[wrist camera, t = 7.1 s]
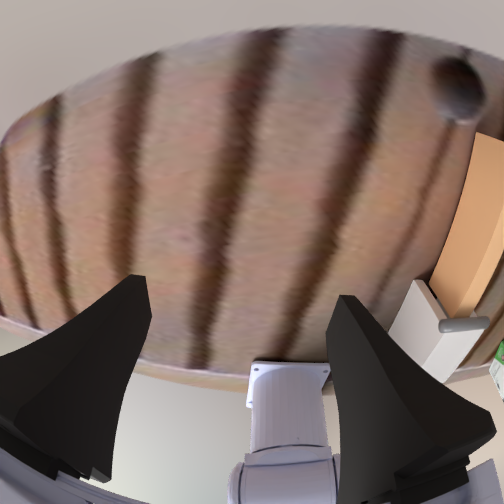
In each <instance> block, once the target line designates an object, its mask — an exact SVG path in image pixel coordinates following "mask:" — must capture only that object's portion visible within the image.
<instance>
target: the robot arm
mask: <svg viewBox="0 0 504 504" xmlns="http://www.w3.org/2000/svg"><path fill="white" fill-rule="evenodd" d="M151 318H152V313H151V308H150V302H149V296H148V290H147V284H146V277H145V276H140V275H133V274H131V275H129V276H128V277H126V278H125V279H124V280H122V281H121V282H120V283H119V284H117V285H116V286H115V287H114V288H112V289H111V290H110V291H109V292H107V293H106V294H105V295H103V296H102V297H101V298H100V299H98V300H97V301H96V302H95V303H93V304H92V305H91V306H89V307H88V308H87V309H85V310H84V311H82V312H81V313H80V314H78V315H77V316H76V317H74V318H73V319H72V320H70V321H69V322H67V323H66V324H64V325H63V326H61V327H59V328H58V329H56V330H55V331H53V332H51V333H50V334H48V335H46V336H44V337H42V338H40V339H38V340H36V341H35V342H33V343H31V344H29V345H27V346H25V347H22V348H20V349H18V350H16V351H14V352H11V353H8V354H6V355H3V356H0V504H93V503H94V504H149V503H145V502H141V501H138V500H134V499H131V498H128V497H124V496H121V495H118V494H115V493H112V492H109V491H106V490H104V489H101V488H98V487H96V486H93V485H90V484H88V483H86V482H83V481H81V480H79V479H80V477H82V478H84V479H87V480H89V479H90V478H91V479H94V480H96V481H99V482H102V483H106V482H108V481H110V480H111V477H112V461H113V450H114V443H115V436H116V430H117V424H118V419H119V414H120V410H121V405H122V401H123V397H124V393H125V390H126V387H127V384H128V381H129V379H130V377H131V374H132V372H133V369H134V367H135V364H136V362H137V359H138V357H139V354H140V352H141V349H142V347H143V345H144V342H145V340H146V336H147V333H148V329H149V326H150V322H151ZM326 344H327V355H328V360H329V363H291V362H268V361H254V362H252V365H251V372H250V380H249V387H248V394H247V402H246V406H247V407H249V408H252V421H251V444H250V454H249V453H248V454H245V462H239V463H238V464H237V465H236V466H235V467H234V468H233V469H232V471H231V473H230V476H229V481H228V489H227V497H228V504H504V503H503V498H502V493H501V488H500V484H499V480H498V476H497V472H496V468H495V464H494V461H493V459H489V460H488V461H486V462H484V463H482V464H480V465H478V466H476V467H474V468H472V469H471V470H469V471H467V470H466V465H468V464H469V463H470V460H469V455H470V454H472V453H473V452H474V451H476V450H477V449H479V448H480V447H481V446H483V445H484V444H485V443H487V442H488V441H489V440H491V439H492V438H493V437H494V436H495V434H496V432H497V430H496V428H495V425H494V422H493V419H492V416H491V414H490V412H489V411H487V410H485V409H483V408H481V407H479V406H477V405H475V404H473V403H471V402H469V401H468V400H466V399H464V398H463V397H461V396H459V395H458V394H456V393H455V392H453V391H452V390H450V389H449V388H447V387H446V386H444V385H443V384H442V383H440V382H439V381H438V380H436V379H435V378H434V377H432V376H431V375H430V374H429V373H428V372H426V371H425V370H424V369H423V368H422V367H421V366H420V365H418V364H417V363H416V362H415V361H414V360H413V359H412V358H411V357H410V356H409V355H408V354H407V353H406V352H405V351H404V350H403V349H402V348H401V347H400V346H399V345H398V344H397V343H396V342H395V341H394V340H393V339H392V338H391V337H390V336H389V334H388V333H387V332H386V331H385V330H384V329H383V328H382V327H381V325H380V324H379V323H378V322H377V321H376V320H375V318H374V317H373V316H372V315H371V314H370V313H369V311H368V310H367V309H366V308H365V307H364V306H363V305H362V303H361V302H360V301H359V300H358V299H357V298H356V297H355V296H352V295H339V298H338V301H337V303H336V306H335V309H334V312H333V315H332V317H331V320H330V323H329V325H328V328H327V331H326ZM330 371H331V375H332V380H333V384H334V389H335V394H336V399H337V404H338V410H339V424H340V452H341V453H340V454H334V455H332V452H331V447H330V446H328V438H327V429H326V421H325V413H324V405H323V398H322V390H321V389H322V387H323V385H324V383H325V381H326V379H327V377H328V375H329V373H330ZM91 502H92V503H91Z"/></svg>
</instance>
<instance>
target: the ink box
mask: <svg viewBox="0 0 504 504" xmlns="http://www.w3.org/2000/svg"><path fill="white" fill-rule="evenodd" d="M489 372H490V374H491V376H492V378H493V380H494V382H495V384H496V386H497V389H498V391H499V393H500V395H501V398H502V400H503V402H504V340H503V341H502V342H501V343H500V346H499V348H498V351H497V353H496V355H495V358H494V360H493V362H492V364H491V367H490V369H489Z"/></svg>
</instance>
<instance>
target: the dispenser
mask: <svg viewBox="0 0 504 504" xmlns="http://www.w3.org/2000/svg"><path fill="white" fill-rule="evenodd" d="M489 324H490V320H489V318H488V317H487V316H483V317H478V316H477V315H476V313H475V312H474V310H473V312H472V313H471V315H470V317H469V318H450V316H449V315H448V313H447V312H446V310H445V308H444V307H443V305H442V304H441V302H440V301H439V299H438V297H437V299H436V300H435V298H434V297H433V295H432V293H431V292H430V290H429V289H428V287H427V286H426V284H425V283H424V281H423V280H413V282H412V284H411V286H410V289H409V291H408V293H407V295H406V297H405V300H404V302H403V304H402V306H401V308H400V310H399V312H398V314H397V316H396V318H395V320H394V322H393V324H392V326H391V328H390V330H389V332H388V334H389V336H390V337H391V338H392V339H393V340H394V341H395V342H396V343H397V344H398V345H399V346H400V347H401V348H402V349H403V350H404V351H405V352H406V353H407V354H408V355H409V356H410V357H411V358H412V359H413V360H414V361H415V362H416V363H417V364H418V365H420V366H421V367H422V368H423V369H424V370H425V371H426V372H428V373H429V374H430V375H431V376H432V377H434V378H435V379H436V380H438V381H439V382H440V383H444V382H445V381H446V380H447V379H448V378H449V376H450V375H451V374H452V373H453V372H454V370H455V369H456V368H457V367H458V365H459V364H460V363H461V361H462V360H463V359H464V358H465V356H466V355H467V354H468V352H469V351H470V349H471V348H472V347H473V345H474V344H475V342H476V341H477V340H478V338H479V337H480V335H481V334H482V332H483V331H484V329H487V328H488V327H489Z"/></svg>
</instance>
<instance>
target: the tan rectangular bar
mask: <svg viewBox="0 0 504 504" xmlns="http://www.w3.org/2000/svg"><path fill="white" fill-rule="evenodd" d="M503 250H504V142H503V141H501V140H498V139H495V138H492V137H490V136H487V135H484V134H481V133H478V132H476V135H475V141H474V146H473V151H472V156H471V160H470V165H469V169H468V173H467V177H466V181H465V184H464V188H463V192H462V195H461V199H460V202H459V205H458V208H457V211H456V215H455V218H454V221H453V224H452V226H451V229H450V232H449V235H448V238H447V240H446V243H445V245H444V248H443V251H442V253H441V256H440V258H439V260H438V263H437V265H436V268H435V270H434V272H433V275H432V277H431V279H430V281H429V283H428V284H429V285H430V287H431V288H432V290H433V291H434V293H435V294H436V296H437V297H438V299H439V301H440V302H441V304H442V305H443V307H444V308H445V310H446V312H447V313H448V315H449V316H450V318H469V317H470V315H471V313H472V312H473V310H474V308H475V307H476V305H477V303H478V301H479V299H480V298H481V296H482V294H483V292H484V290H485V288H486V286H487V284H488V282H489V280H490V278H491V276H492V274H493V272H494V270H495V268H496V266H497V264H498V262H499V259H500V257H501V255H502V253H503Z"/></svg>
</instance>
